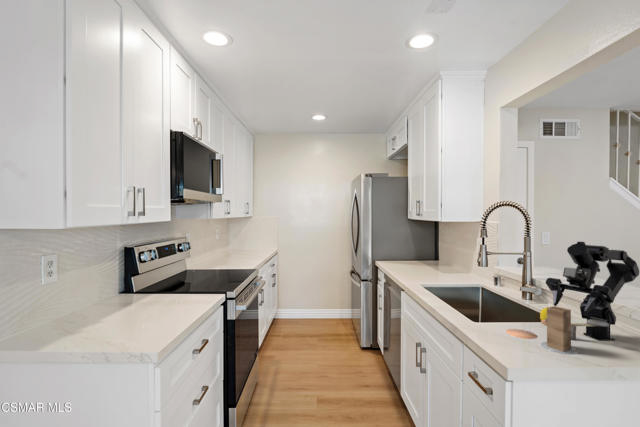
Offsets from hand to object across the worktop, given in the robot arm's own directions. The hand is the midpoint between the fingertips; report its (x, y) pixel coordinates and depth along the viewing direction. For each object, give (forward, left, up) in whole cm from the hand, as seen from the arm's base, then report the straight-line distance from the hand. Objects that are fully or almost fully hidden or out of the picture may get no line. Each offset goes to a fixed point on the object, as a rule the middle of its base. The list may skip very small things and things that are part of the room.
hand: (569, 308), depth 109 cm
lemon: (-8, -20, -13) cm, 26 cm away
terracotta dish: (+11, -9, -13) cm, 19 cm away
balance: (-4, -3, -13) cm, 14 cm away
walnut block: (+7, +4, -12) cm, 14 cm away
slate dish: (+7, +4, -13) cm, 15 cm away
